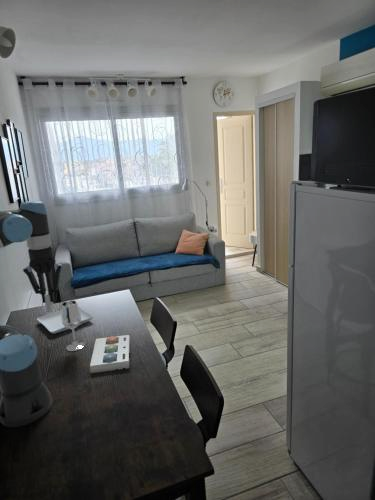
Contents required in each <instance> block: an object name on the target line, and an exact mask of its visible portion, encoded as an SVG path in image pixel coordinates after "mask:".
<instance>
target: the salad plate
mask: <svg viewBox="0 0 375 500" xmlns="http://www.w3.org/2000/svg"><path fill="white" fill-rule="evenodd" d="M78 308H79V311H80V314H81V323H80V324H79V326H81V325H84V324H86V323H88V322H90V321H91V320H93V318H94V316H93V315H92V314H91V313H90V312H88V311H85V310H84V309H82V308H81V307H80V306H78ZM61 313H62V309H61V310H57V311H54V312H50V313H49V314H45V315H42V316H39V317H37V318H36V321H38V322H39V323H40V324H41V325H42V326H44V327H45V328H46V329H47V331H49V332H50V333H51V334H59V333H63V332H65V331H68V330H69V329H68V328H66V327H65V326H63V324H62V320H61Z"/></svg>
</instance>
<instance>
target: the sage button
mask: <svg viewBox="0 0 375 500" xmlns="http://www.w3.org/2000/svg"><path fill="white" fill-rule="evenodd" d="M105 349H106V353H112V352H117V346H116V345H115V344H110V345H107V346H106V347H105Z"/></svg>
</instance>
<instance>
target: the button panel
mask: <svg viewBox="0 0 375 500" xmlns="http://www.w3.org/2000/svg"><path fill="white" fill-rule="evenodd" d="M109 337H110V336H109ZM109 337H102V338H101V337H100V338H95V343H94V346H93V350H92V355H91V360H90V364H89V368H90V369H89V370H90V374H94V373H101V372H109V371H117V370H116V369H118V370H124V369H123V368H125V369H130V358H129V353H131V352H130V351H131V350H130V349H131V348H130V346H131V339H130V334H126V335H125V334H123V335H117V336H116V337H117V339H118V343H116V344H115V345H116V346H117V352H112V353H114V354H115V355H116V361H115V362H107V363H105V362H104V356H105V355H106V354H108V353H106V349H105V347H106V346H107V338H109ZM108 345H110V344H108Z"/></svg>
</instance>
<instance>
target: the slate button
mask: <svg viewBox="0 0 375 500" xmlns="http://www.w3.org/2000/svg"><path fill="white" fill-rule="evenodd" d="M115 361H116V355H115V354H114V353H108V354H106V355H105V356H104V362H105V363H107V362H115Z"/></svg>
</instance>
